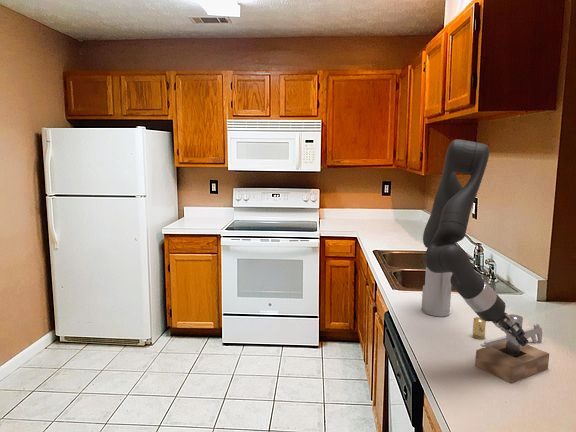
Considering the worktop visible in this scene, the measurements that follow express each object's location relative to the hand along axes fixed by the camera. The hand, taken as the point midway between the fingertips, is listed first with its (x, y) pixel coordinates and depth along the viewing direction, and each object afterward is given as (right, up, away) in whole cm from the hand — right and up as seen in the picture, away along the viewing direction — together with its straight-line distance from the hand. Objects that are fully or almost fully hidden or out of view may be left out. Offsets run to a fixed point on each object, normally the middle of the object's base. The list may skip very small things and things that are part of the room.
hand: (519, 340), depth 120 cm
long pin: (-2, -6, +1) cm, 6 cm away
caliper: (+6, -6, +16) cm, 18 cm away
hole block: (-2, -8, +1) cm, 8 cm away
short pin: (-2, -5, +20) cm, 21 cm away
